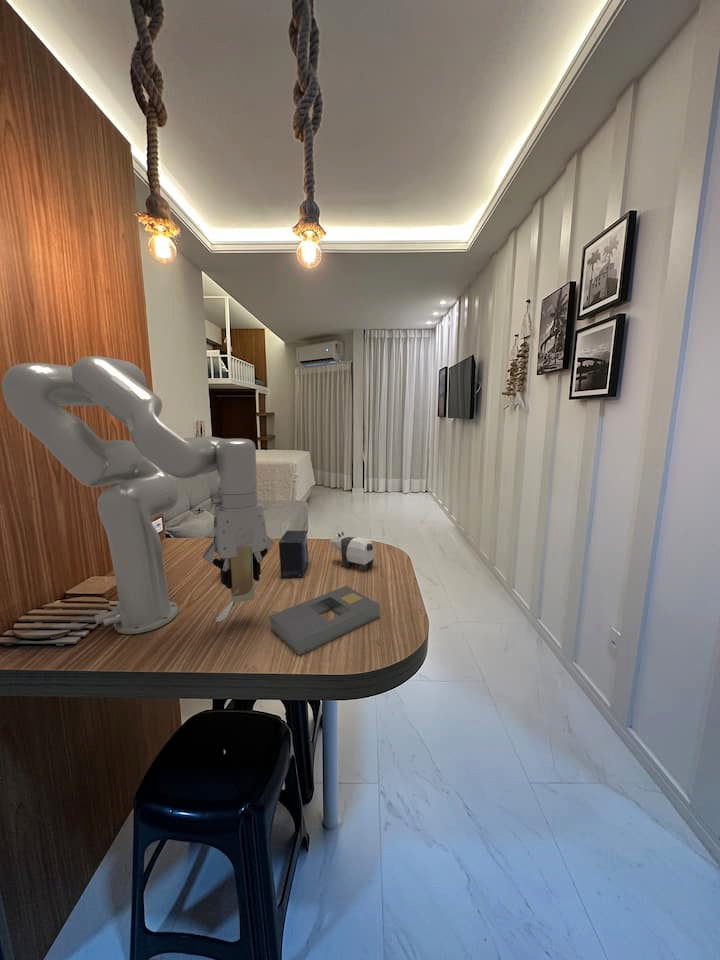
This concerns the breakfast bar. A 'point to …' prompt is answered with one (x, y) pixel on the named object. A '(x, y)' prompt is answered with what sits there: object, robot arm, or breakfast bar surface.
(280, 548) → the small box
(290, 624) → the grey slotted base block
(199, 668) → the breakfast bar surface
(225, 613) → the spoon
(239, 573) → the skincare box
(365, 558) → the giant panda
